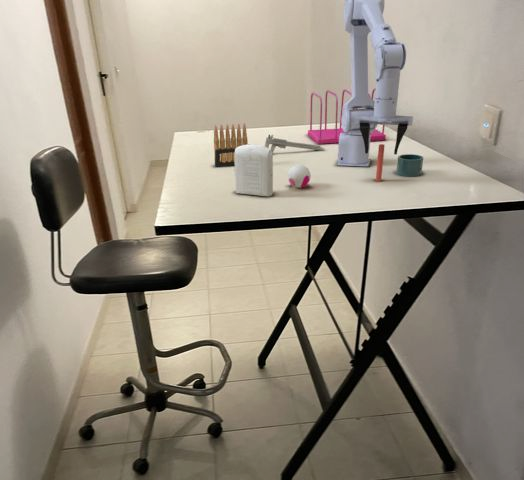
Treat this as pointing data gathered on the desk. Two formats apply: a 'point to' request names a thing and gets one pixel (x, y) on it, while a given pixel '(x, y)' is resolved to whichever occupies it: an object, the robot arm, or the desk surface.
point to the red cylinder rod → (380, 162)
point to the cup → (409, 165)
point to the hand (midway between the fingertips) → (381, 153)
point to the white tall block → (254, 170)
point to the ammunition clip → (228, 145)
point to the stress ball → (299, 176)
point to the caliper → (288, 144)
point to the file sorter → (333, 134)
